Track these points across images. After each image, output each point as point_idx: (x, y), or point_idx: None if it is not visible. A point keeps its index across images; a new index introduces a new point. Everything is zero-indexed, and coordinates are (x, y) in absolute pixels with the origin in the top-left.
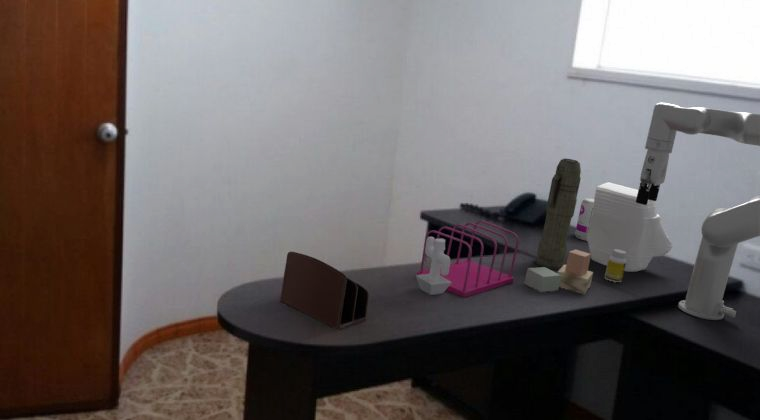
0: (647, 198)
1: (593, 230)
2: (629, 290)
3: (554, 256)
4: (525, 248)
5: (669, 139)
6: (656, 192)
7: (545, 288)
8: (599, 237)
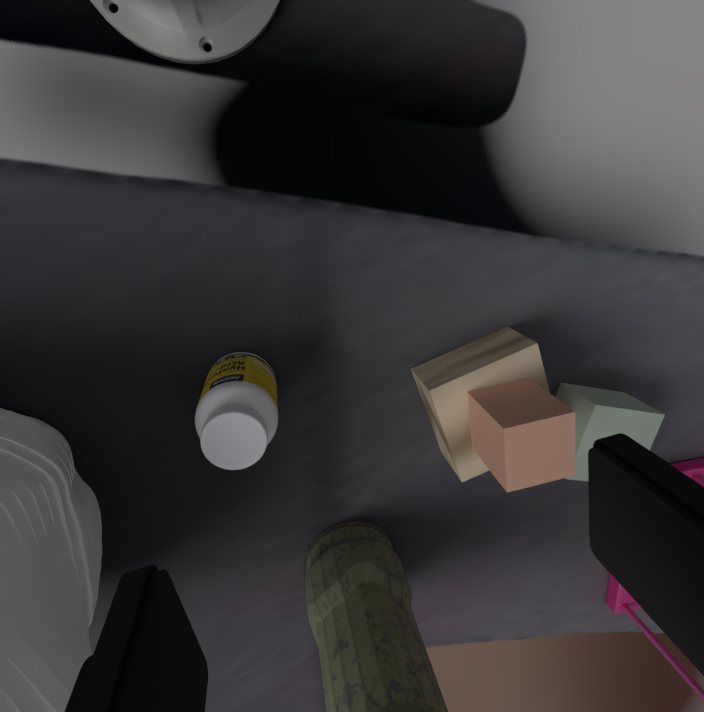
0: (691, 486)
1: None
2: (283, 281)
3: (392, 558)
4: (286, 680)
5: None
6: (138, 705)
7: (617, 394)
8: (75, 632)
